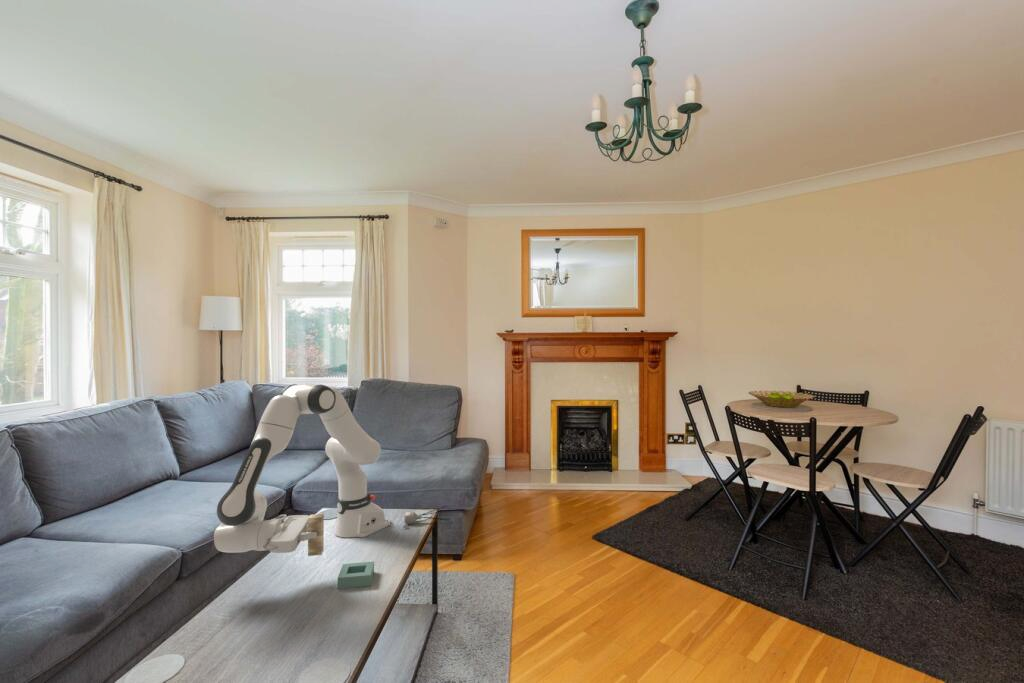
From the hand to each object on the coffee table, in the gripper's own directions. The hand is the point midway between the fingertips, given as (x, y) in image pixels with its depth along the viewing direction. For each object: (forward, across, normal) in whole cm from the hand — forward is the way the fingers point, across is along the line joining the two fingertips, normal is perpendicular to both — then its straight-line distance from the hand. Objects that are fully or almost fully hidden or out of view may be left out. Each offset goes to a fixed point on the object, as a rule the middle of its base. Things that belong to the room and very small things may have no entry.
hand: (318, 531), depth 143 cm
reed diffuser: (+34, +42, +17) cm, 57 cm away
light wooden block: (-1, 0, +7) cm, 7 cm away
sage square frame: (+12, 0, +17) cm, 20 cm away
